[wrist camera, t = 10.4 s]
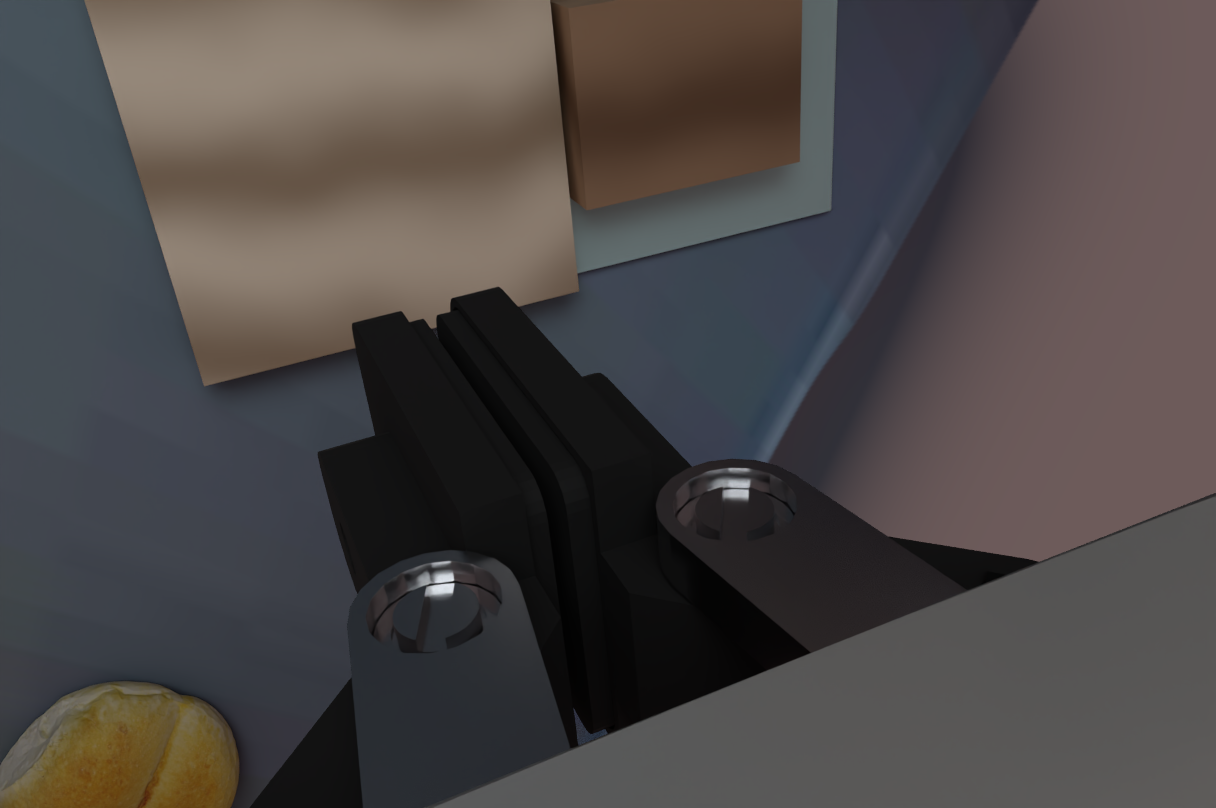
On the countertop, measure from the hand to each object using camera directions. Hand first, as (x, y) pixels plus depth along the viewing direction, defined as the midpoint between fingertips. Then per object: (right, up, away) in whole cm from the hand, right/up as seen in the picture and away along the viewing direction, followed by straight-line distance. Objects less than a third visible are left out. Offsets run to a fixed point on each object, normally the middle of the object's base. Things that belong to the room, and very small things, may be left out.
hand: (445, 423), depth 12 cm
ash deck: (-7, +10, +25) cm, 28 cm away
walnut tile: (+4, +13, +28) cm, 31 cm away
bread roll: (-19, -14, +33) cm, 40 cm away
